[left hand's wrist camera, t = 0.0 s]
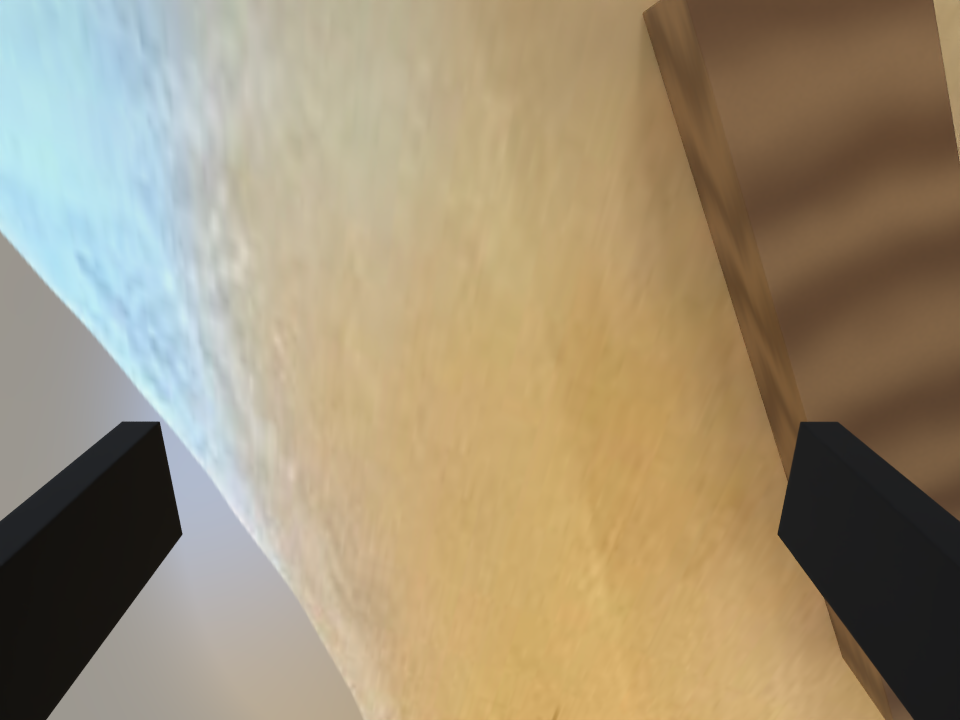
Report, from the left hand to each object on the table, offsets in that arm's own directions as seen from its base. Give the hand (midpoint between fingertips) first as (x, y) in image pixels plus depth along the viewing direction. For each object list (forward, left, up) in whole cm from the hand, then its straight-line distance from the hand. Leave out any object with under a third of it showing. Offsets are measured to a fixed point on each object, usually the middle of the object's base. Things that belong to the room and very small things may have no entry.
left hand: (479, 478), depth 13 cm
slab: (+8, +24, -28) cm, 38 cm away
